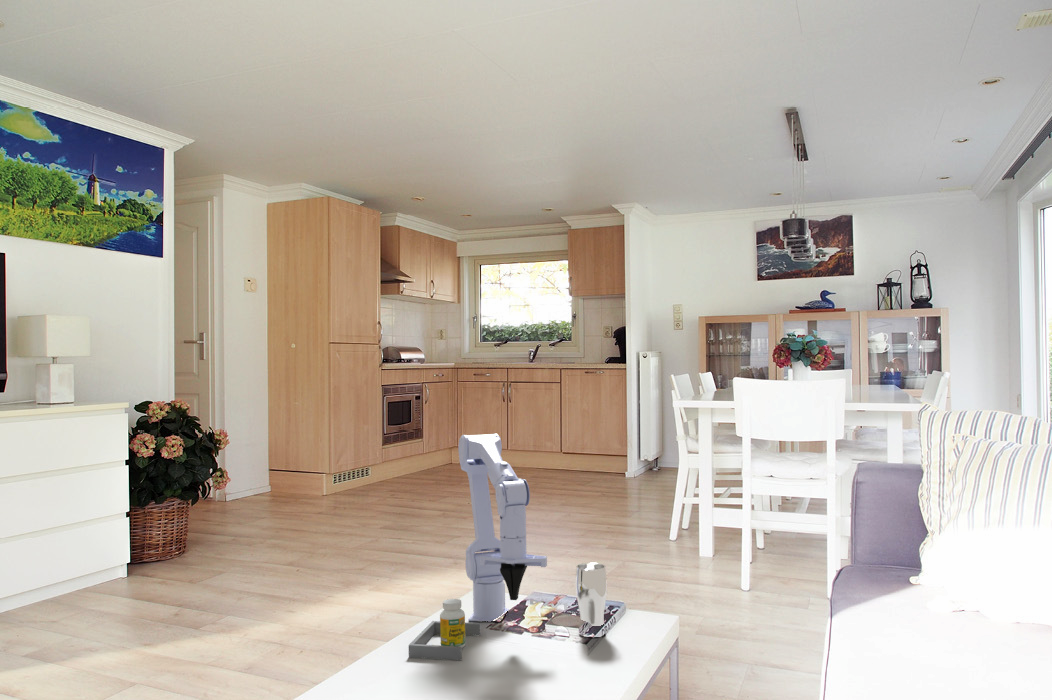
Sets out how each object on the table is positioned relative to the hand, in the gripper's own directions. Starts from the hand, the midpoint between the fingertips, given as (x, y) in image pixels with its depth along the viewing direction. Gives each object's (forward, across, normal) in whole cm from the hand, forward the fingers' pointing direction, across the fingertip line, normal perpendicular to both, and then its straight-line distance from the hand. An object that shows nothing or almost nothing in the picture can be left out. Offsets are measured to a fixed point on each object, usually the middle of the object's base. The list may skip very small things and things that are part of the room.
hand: (514, 598), depth 162 cm
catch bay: (+9, -14, -4) cm, 17 cm away
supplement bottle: (+10, -13, -4) cm, 16 cm away
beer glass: (+10, +16, +8) cm, 20 cm away
